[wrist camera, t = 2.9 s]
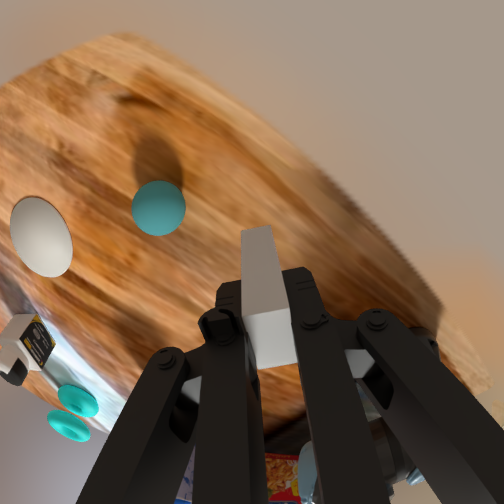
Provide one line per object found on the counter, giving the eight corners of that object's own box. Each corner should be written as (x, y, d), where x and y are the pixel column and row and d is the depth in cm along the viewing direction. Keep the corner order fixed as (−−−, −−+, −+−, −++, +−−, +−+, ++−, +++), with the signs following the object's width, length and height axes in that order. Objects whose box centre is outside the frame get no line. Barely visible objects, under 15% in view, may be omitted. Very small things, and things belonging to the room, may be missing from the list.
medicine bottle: (57, 343, 41) (30, 393, 30) (33, 342, 41) (7, 387, 30) (37, 312, 37) (4, 362, 27) (14, 313, 38) (-17, 358, 27)
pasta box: (315, 456, 64) (328, 540, 40) (299, 465, 68) (309, 543, 43) (221, 445, 58) (220, 547, 33) (210, 454, 61) (207, 547, 36)
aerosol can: (191, 447, 58) (185, 516, 41) (161, 438, 56) (151, 509, 38) (204, 437, 55) (200, 514, 38) (172, 428, 53) (162, 507, 36)
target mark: (52, 185, 28) (51, 185, 28) (86, 269, 34) (85, 269, 34) (0, 211, 29) (0, 212, 29) (32, 281, 34) (31, 282, 34)
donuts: (51, 431, 41) (40, 412, 37) (64, 399, 50) (56, 376, 46) (91, 448, 43) (84, 432, 38) (101, 413, 52) (98, 392, 47)
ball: (181, 169, 29) (169, 182, 24) (195, 217, 31) (187, 238, 26) (135, 182, 29) (115, 197, 24) (150, 227, 31) (135, 250, 27)
